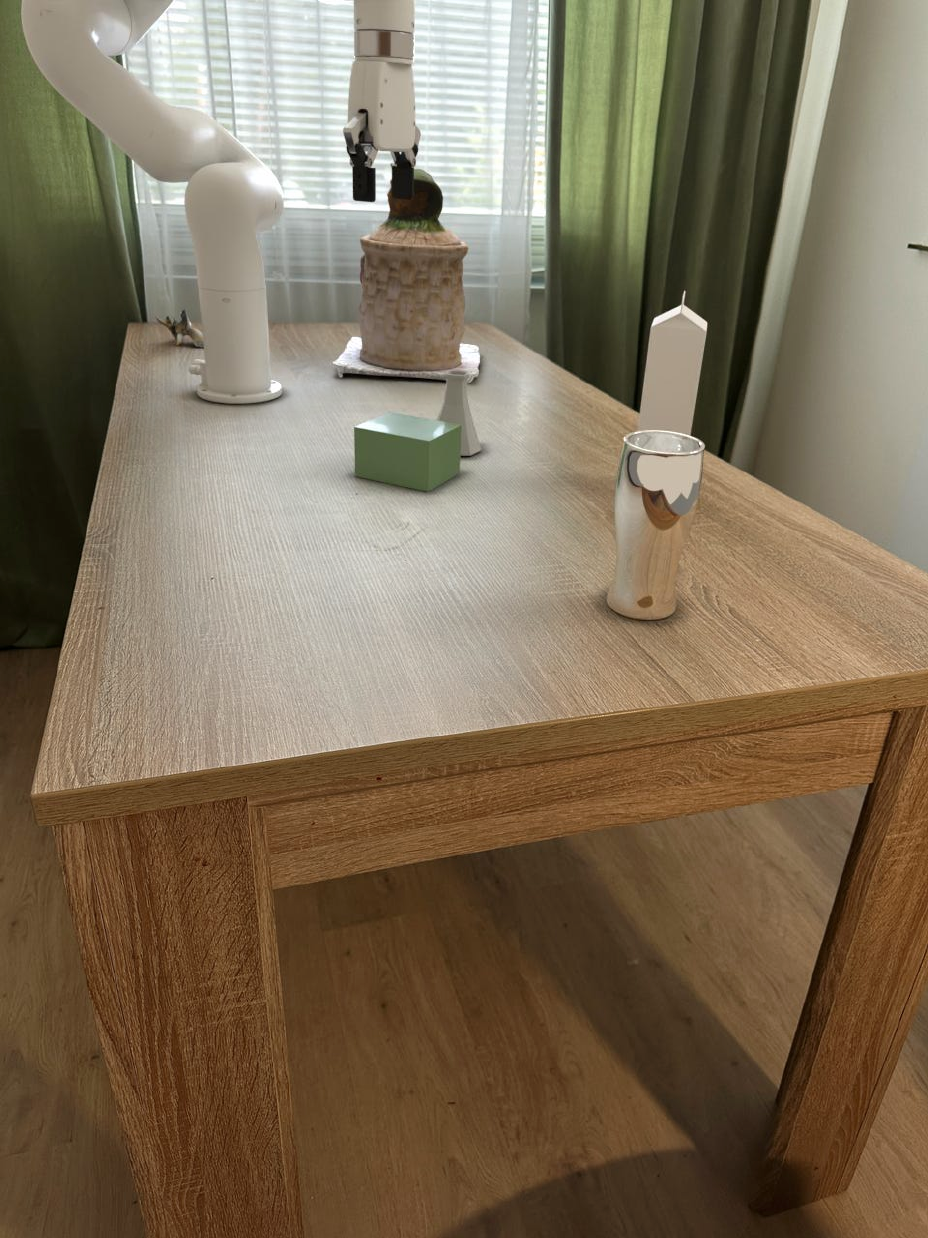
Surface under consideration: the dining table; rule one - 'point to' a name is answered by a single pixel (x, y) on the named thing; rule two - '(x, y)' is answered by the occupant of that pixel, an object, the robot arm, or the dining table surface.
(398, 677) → the dining table surface
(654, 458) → the beer glass
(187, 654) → the dining table surface
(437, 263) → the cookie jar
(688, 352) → the milk
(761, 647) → the dining table surface
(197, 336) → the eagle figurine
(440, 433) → the green block
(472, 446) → the flask
